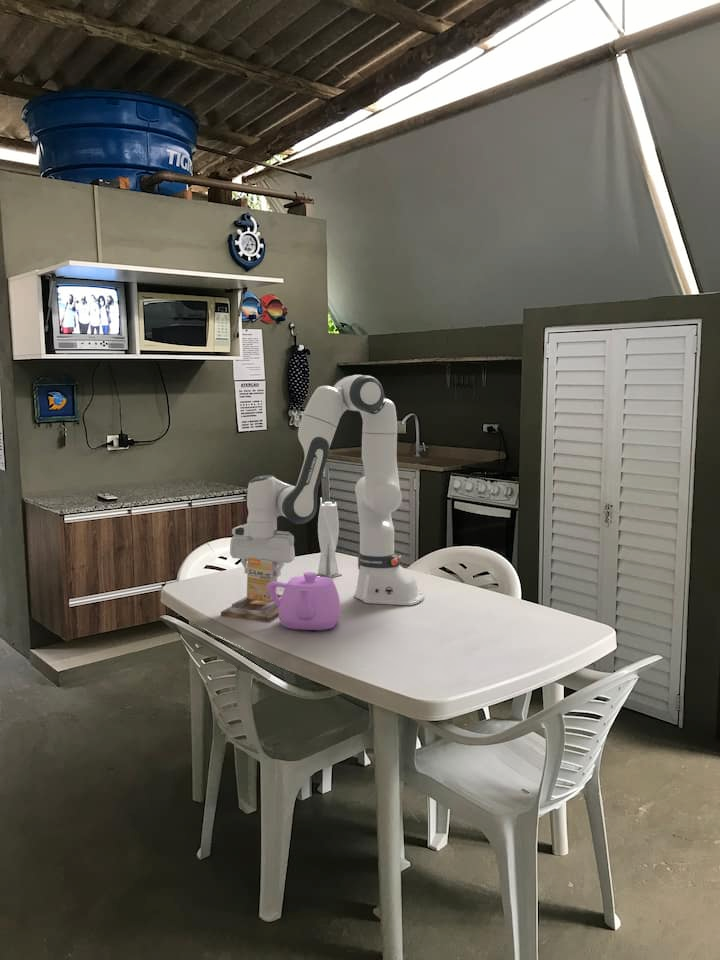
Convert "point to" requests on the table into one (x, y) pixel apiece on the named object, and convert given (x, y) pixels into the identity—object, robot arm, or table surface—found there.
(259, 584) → the supplement box
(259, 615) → the rail board
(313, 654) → the table surface
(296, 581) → the teapot
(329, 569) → the skyscraper
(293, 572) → the table surface
